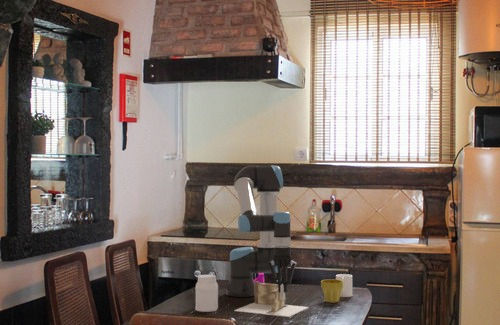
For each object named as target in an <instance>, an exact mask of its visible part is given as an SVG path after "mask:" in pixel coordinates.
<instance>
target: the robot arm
mask: <svg viewBox="0 0 500 325" xmlns="http://www.w3.org/2000/svg"><path fill="white" fill-rule="evenodd" d="M283 177H284V176H283V172H282V169H281V167H280V166H278V165H247V166H244V167H243V168H242V169H240V170H239V171H238V173H236V174H235V177H234V180H233V186H234V189H235V191H236V192H237V198H238V203H239V210H240V215H239V216H238V217H237V218H238V219H237V228H238V229H237V230H238V231H239V232H245V233H257V232H259V244H258V245H257V246H256V249H254V248H253V247H252V246H245V247H243V246H242V247H238V248H234V249H232V250H231V251H230V252H229V281H228V284H227V288H226V294H225V295H226V296H229V297H232V298H233V297H237V298H248V297H255V284H254V281H253V280H254V274H259V273H264V274H271V275H272V280H273V284H278V291H279V292H281V300H285V293H286V294H287V292H288V286H289V285H290V284H292V280H293V276H294V272H295V268H296V266H297V263H298V262H295V261H294V260H293V259H292V257H291V252H292V249H291V243H292V241H291V238H292V237H291V221H292V220H291V214H290V212H289V211H278V197H277V196H278V195H279V194H280V193H281V190H282V189H283V188H284V178H283ZM255 189H256V193H257V195H259V214H258V211H257V205H256V200H255V194H254V190H255ZM289 265H290V269H289V272H288V267H289Z"/></svg>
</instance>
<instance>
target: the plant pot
mask: <svg viewBox="0 0 500 325" xmlns="http://www.w3.org/2000/svg"><path fill="white" fill-rule="evenodd" d="M320 287H321V289H322V292H323V296H324V302H326V303H339V302H340V299H341V297H340V294H341V289H342V288H343V281H341V280H336V278H335V279H332V278H331V279H330V278H329V279H322V280H321V281H320Z"/></svg>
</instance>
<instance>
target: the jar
mask: <svg viewBox="0 0 500 325" xmlns="http://www.w3.org/2000/svg"><path fill="white" fill-rule="evenodd" d="M194 309H195V311H196V312H203V313H205V312H207V313H208V312H211V313H212V312H216V311H217V310H218V309H219V284H218V282H217V275H215V274H201V275H197V282H196V283H195V308H194Z"/></svg>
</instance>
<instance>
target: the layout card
mask: <svg viewBox="0 0 500 325" xmlns="http://www.w3.org/2000/svg"><path fill="white" fill-rule="evenodd" d="M309 308H310V307H309V306H303V305H290V304H286V305H284V306H283V307H281V308H280V309H278V310H277V311H275V312H272V305H269V304H259V303H255V301H254V302H252V303H249V304H247V305H244V306H242V307H239V308H237V309H234V312H238V313H239V312H241V313H249V314H257V315H266V316H267V315H268V316H277V317H285V318H290V317H292V316H295V315H296V314H298V313H301V312H302V311H305V310H308V309H309Z"/></svg>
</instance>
